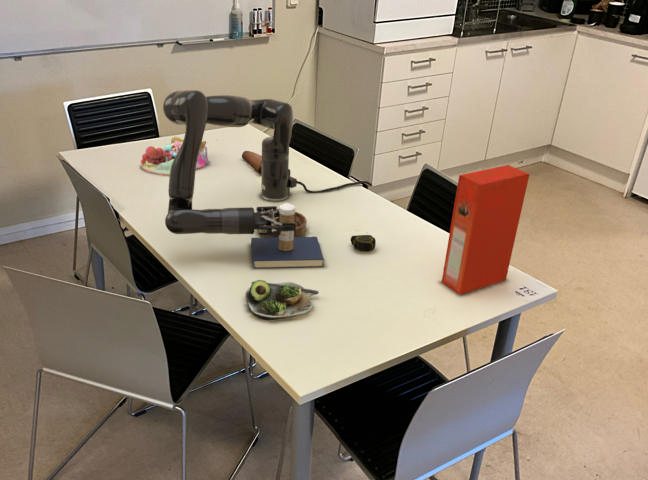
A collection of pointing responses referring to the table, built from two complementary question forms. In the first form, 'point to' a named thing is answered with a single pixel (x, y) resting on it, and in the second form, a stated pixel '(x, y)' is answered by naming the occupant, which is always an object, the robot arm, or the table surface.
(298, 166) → the table surface
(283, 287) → the salad plate
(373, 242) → the tape measure
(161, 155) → the colorful candy landscape
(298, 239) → the book
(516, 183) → the file binder
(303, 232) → the bowl
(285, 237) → the sprinkles bottle
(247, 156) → the sunglasses case
